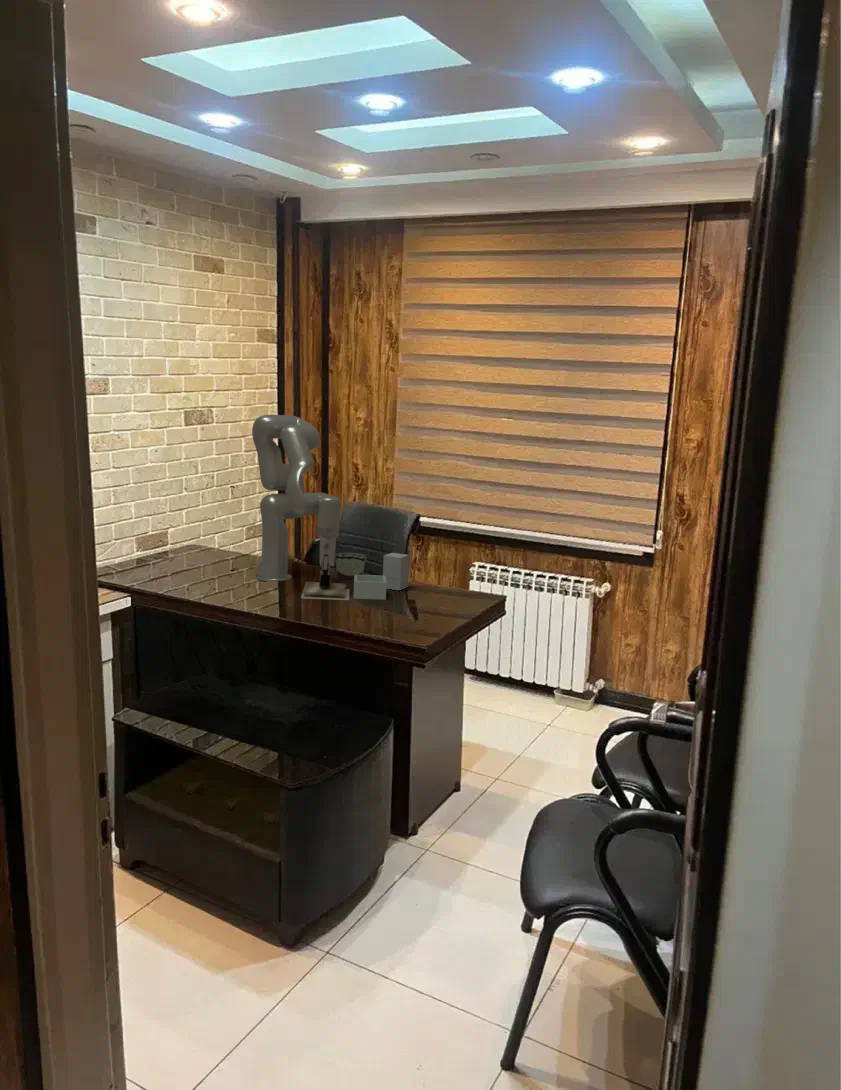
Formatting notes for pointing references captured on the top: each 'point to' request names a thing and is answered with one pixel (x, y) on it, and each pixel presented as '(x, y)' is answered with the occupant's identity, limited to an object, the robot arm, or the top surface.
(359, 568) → the grey half-round piece
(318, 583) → the lid
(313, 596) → the mat
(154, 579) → the top surface
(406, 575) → the supplement box
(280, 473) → the robot arm
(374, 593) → the open square bin
